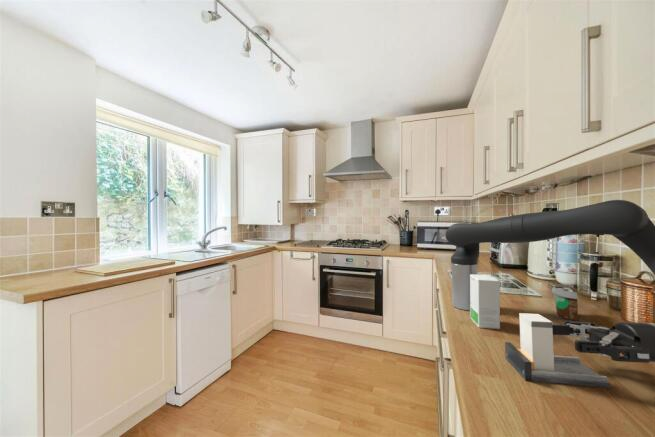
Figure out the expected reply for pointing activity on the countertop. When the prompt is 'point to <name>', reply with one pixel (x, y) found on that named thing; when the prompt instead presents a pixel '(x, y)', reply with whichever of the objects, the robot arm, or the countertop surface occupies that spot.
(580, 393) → the countertop surface
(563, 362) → the dark grey open tray
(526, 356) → the orange rectangular bar
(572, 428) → the countertop surface
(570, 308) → the food container
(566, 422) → the countertop surface
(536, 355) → the block
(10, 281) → the countertop surface
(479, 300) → the skincare box
